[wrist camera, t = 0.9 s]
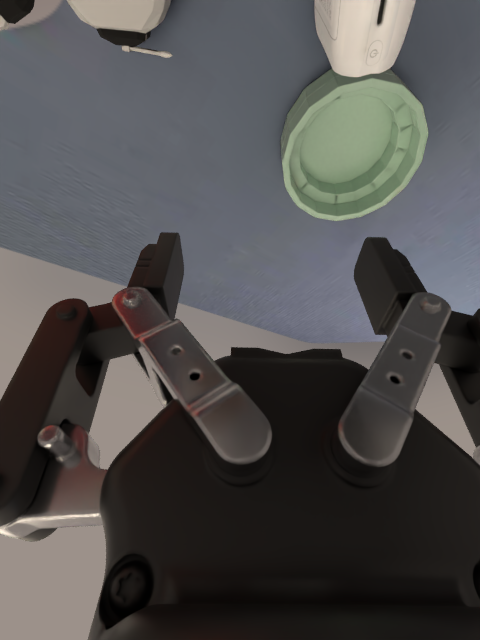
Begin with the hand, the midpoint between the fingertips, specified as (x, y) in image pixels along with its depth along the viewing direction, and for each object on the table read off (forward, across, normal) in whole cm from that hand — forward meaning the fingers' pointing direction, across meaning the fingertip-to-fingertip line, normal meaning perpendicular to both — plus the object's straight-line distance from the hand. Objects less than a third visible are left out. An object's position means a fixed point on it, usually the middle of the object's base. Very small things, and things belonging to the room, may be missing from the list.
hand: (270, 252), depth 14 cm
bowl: (+23, -9, +2) cm, 25 cm away
